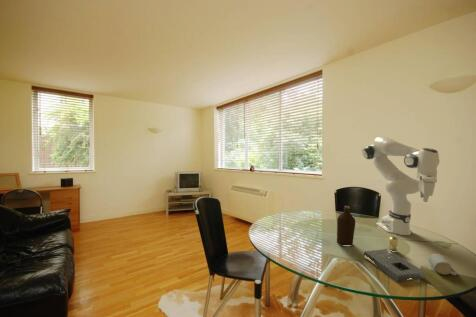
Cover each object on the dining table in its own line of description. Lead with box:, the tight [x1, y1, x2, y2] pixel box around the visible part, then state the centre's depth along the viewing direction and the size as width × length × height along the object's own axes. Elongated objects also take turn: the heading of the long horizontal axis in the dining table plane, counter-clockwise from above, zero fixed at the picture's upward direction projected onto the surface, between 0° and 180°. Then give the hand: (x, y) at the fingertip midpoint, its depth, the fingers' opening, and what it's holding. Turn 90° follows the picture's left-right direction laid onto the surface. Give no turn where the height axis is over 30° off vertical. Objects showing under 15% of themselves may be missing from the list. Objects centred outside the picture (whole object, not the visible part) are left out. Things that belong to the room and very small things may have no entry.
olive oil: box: [336, 205, 356, 246], centre depth 145 cm, size 11×11×25 cm
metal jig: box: [363, 248, 426, 283], centre depth 121 cm, size 22×16×4 cm
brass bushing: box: [387, 236, 399, 252], centre depth 137 cm, size 4×4×8 cm
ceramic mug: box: [428, 253, 458, 276], centre depth 117 cm, size 11×8×8 cm
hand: (423, 199), depth 132 cm, fingers open, 8 cm apart
